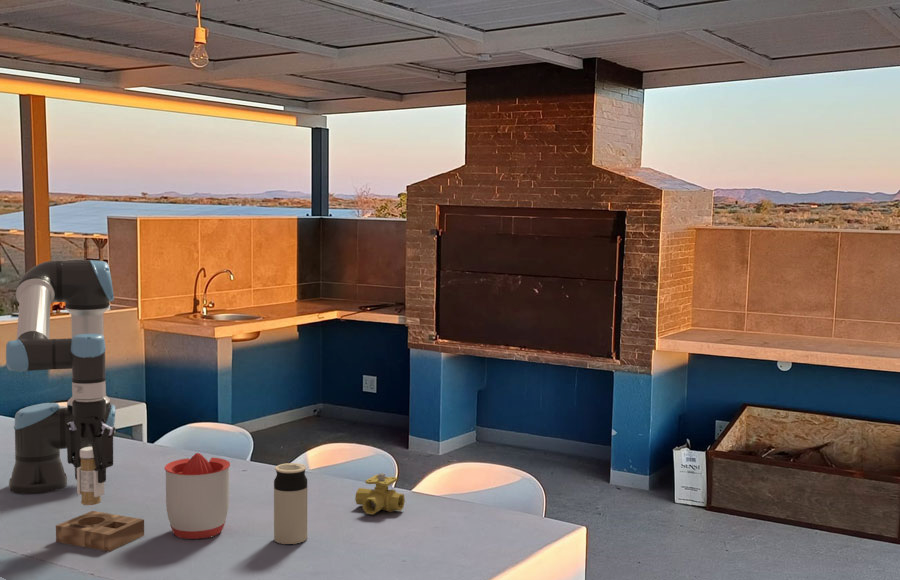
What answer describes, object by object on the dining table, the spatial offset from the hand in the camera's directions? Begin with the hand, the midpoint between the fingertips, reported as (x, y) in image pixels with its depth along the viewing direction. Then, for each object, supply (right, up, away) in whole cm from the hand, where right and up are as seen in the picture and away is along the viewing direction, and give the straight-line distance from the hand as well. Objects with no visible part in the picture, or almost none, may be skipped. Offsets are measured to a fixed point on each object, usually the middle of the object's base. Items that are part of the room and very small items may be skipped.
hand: (90, 494), depth 225 cm
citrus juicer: (+24, -11, +6) cm, 27 cm away
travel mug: (+48, -12, +1) cm, 49 cm away
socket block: (+2, -11, 0) cm, 11 cm away
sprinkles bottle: (0, -2, 0) cm, 2 cm away
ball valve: (+67, -10, +24) cm, 72 cm away
